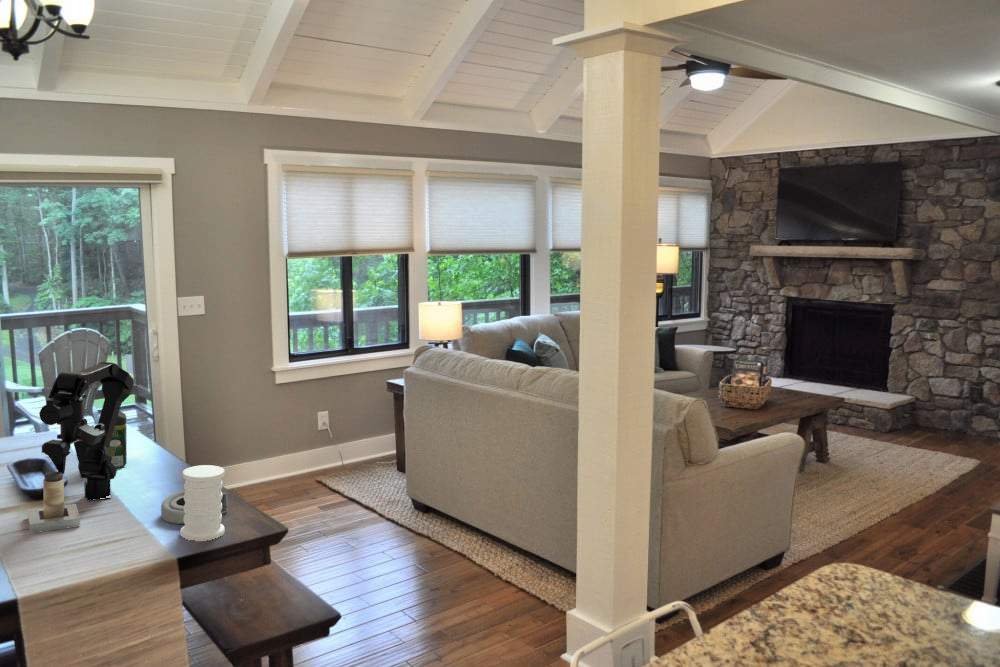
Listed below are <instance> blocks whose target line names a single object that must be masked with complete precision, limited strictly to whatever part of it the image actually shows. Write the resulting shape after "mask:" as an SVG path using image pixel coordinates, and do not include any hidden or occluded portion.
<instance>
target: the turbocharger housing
mask: <svg viewBox="0 0 1000 667" xmlns="http://www.w3.org/2000/svg"><path fill="white" fill-rule="evenodd" d="M184 494H185V490H182V491H178V492H176V493H173V494H172V495H169V496H167V497H166V498H165V499H164V500H163V501H162V503H161V506H160V512H161V518H162V519H163V520H164V521H165V522H167V523H169V524H177V525H183V524H184V525H185V523H184V521H183V519H184V516H185V512H184V509H183V508H184V505H185V501H184ZM222 494H223V497H222V499H221V503H222V510H221V514H225V513H227V512H228V509H229V501H228V500H229V495H228V493H227V492H222Z"/></svg>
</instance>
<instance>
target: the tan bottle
mask: <svg viewBox="0 0 1000 667" xmlns="http://www.w3.org/2000/svg"><path fill="white" fill-rule="evenodd" d="M42 487H43V494H42V495H43V508H44V519H51V518H59V517H64V505H65V477H64V474H63V473H62V472H58V471H49V472H46V473H44V479H43V486H42Z"/></svg>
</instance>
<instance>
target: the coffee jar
mask: <svg viewBox="0 0 1000 667" xmlns="http://www.w3.org/2000/svg"><path fill="white" fill-rule="evenodd" d="M109 450H110V453H111V456H112V460H111V463H112V464H113V465H114V467H115V468H116V469H118V468H121V467H125V466H126V465H127V462H128V461H127V460H128V459H127V452H128V451H127V415H126V413H125V412H122V411H121V410H119V414H118V417H117V421H116V424H115V428H114V431H113V435H112V439H111V442H110V446H109Z"/></svg>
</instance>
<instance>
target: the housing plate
mask: <svg viewBox="0 0 1000 667" xmlns="http://www.w3.org/2000/svg"><path fill="white" fill-rule="evenodd" d="M64 516H65V517H59V518H51V519H44V507H38V508H28V509H27V519H28V520H27V521H28V528H29V534H34V533H35V532H36V533H41V532H40V531H43V532H50V531H49V530H51V531H56V530H55V529H59V530H62V529H61V528H66V529H68V528H67V527H73V526H79V525H80V526H81V517H80V514H79V510H78V506H77V504H76V503H72V504H64ZM47 530H48V531H47Z"/></svg>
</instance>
